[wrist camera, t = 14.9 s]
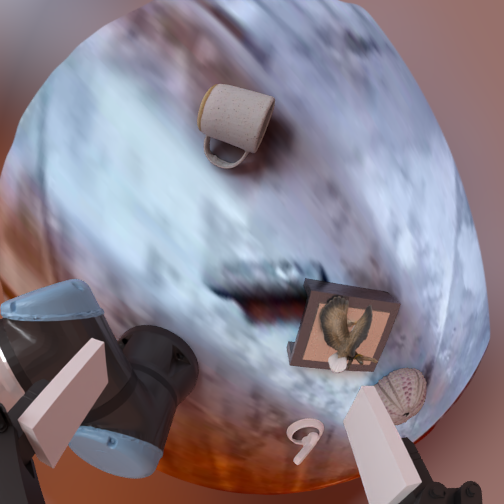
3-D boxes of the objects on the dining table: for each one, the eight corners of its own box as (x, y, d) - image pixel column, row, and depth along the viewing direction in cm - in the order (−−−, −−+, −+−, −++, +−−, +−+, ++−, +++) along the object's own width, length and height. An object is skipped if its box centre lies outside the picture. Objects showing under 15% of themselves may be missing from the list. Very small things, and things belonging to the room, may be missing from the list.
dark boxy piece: (363, 355, 44) (374, 372, 39) (286, 347, 44) (290, 366, 39) (387, 291, 42) (401, 304, 36) (305, 278, 41) (311, 291, 36)
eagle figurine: (383, 341, 37) (378, 292, 33) (373, 380, 31) (368, 333, 28) (334, 339, 41) (323, 293, 37) (319, 375, 36) (305, 330, 32)
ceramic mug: (219, 90, 35) (210, 71, 28) (274, 107, 36) (278, 90, 28) (193, 159, 38) (179, 154, 30) (249, 176, 38) (247, 176, 31)
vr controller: (275, 428, 42) (311, 445, 39) (301, 406, 52) (331, 418, 49) (263, 457, 42) (296, 473, 39) (290, 433, 52) (318, 445, 49)
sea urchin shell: (426, 356, 45) (446, 379, 37) (411, 405, 48) (425, 429, 40) (366, 369, 45) (381, 396, 37) (356, 418, 48) (366, 445, 41)
